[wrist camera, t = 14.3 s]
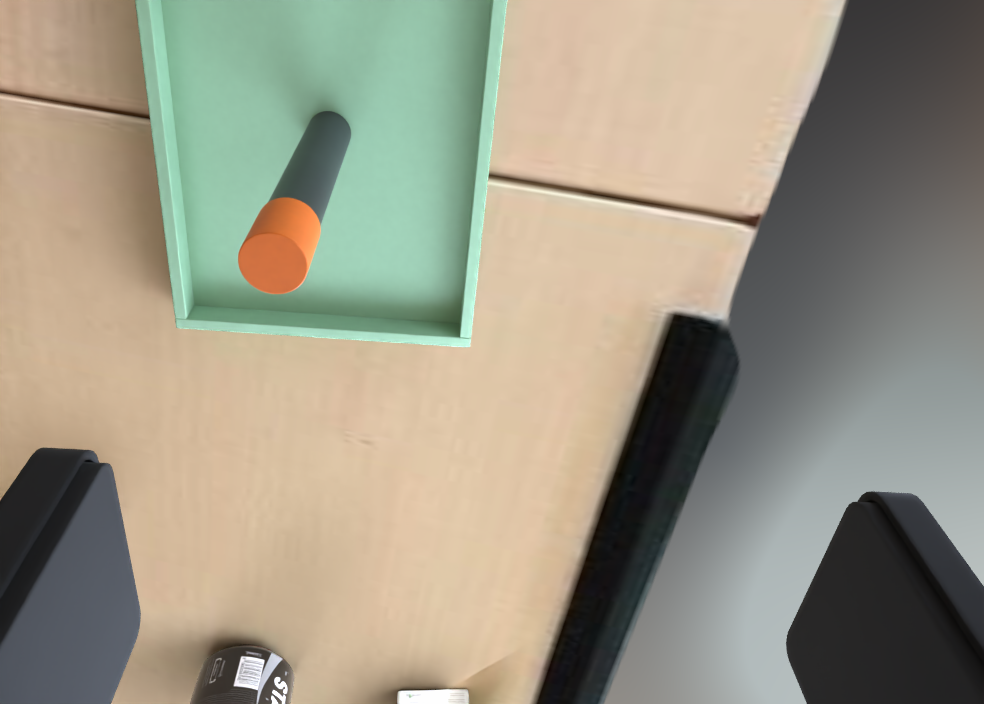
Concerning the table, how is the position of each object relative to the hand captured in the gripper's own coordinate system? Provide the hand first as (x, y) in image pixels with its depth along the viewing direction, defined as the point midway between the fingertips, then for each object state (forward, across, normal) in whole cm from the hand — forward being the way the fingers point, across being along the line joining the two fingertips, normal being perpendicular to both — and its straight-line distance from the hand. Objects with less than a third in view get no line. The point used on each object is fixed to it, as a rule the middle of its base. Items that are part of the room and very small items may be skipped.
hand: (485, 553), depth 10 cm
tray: (+30, +6, +4) cm, 31 cm away
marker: (+30, +6, +4) cm, 31 cm away
